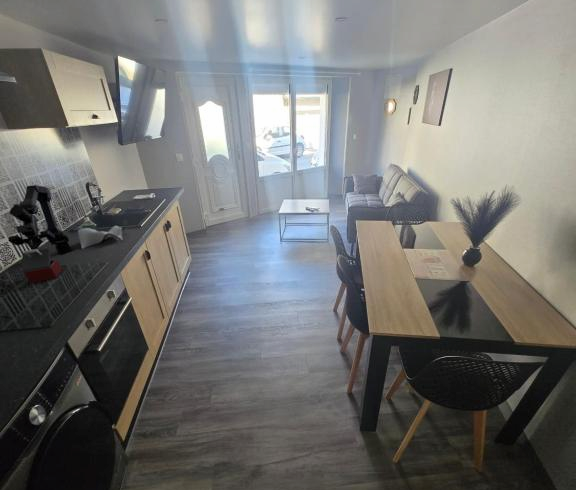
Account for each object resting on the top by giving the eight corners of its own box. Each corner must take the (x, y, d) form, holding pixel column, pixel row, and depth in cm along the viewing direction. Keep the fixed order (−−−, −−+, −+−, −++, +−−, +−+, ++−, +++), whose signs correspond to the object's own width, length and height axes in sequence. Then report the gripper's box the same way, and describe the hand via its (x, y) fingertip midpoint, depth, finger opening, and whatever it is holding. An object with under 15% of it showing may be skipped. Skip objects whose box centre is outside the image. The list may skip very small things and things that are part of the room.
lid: (23, 253, 155) (15, 248, 150) (49, 249, 158) (43, 243, 153) (23, 271, 152) (15, 266, 147) (50, 266, 154) (43, 261, 150)
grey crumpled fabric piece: (126, 232, 210) (121, 219, 205) (123, 242, 195) (117, 227, 190) (87, 239, 204) (81, 225, 199) (81, 249, 189) (74, 235, 184)
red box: (37, 274, 164) (31, 263, 160) (62, 269, 166) (56, 259, 163) (30, 282, 155) (23, 272, 152) (56, 277, 158) (50, 267, 154)
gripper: (-2, 221, 147) (1, 250, 145) (40, 215, 151) (44, 243, 149) (14, 231, 158) (18, 258, 155) (53, 225, 162) (57, 251, 159)
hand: (34, 252), depth 154 cm, fingers closed
